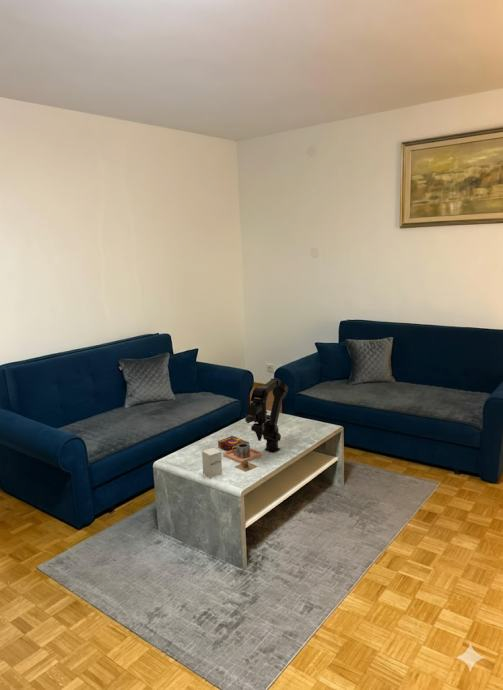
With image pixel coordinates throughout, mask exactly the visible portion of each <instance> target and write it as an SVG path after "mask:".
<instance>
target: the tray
mask: <svg viewBox="0 0 503 690" xmlns="http://www.w3.org/2000/svg"><path fill="white" fill-rule="evenodd" d="M222 453H223V454H222V455H223V457H224V458H226V459H229V460H231V461H233V462H236V463H238V464H243V463H244V461H245V460H247V461H248V462H251V461H253V460H255V459H257V458H260V457H262V456H263V451H262V452H261V451H259V450H257V449H254V448H252V447H250V456H249V457H248V458H244V459H243V458H238V457H237V456H234V453H233V450H230V451H225V452H222Z"/></svg>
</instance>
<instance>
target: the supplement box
mask: <svg viewBox="0 0 503 690" xmlns="http://www.w3.org/2000/svg"><path fill="white" fill-rule="evenodd" d="M201 457H202V459H201V460H202V473H203V475H204V476H206V477H208V479H212V478H213V477H216V476H219V475H222V473H223V467H222V466H223V464H222V451H221V450H219V449H217V448H215V447H211V448H207V449H205V450H202V451H201Z"/></svg>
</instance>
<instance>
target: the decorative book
mask: <svg viewBox="0 0 503 690" xmlns="http://www.w3.org/2000/svg"><path fill="white" fill-rule="evenodd" d="M240 443H248V444H249V445H250V442H249V441H247V440H243V439H242V438H240V437H236V436H234V435H230V436H227V437H226V438H222V439H220V440H217V444H218V445H217V446H218V448H220V449H221V450H223V451H225V452H228V451H230V450H233V453H234V449H236V445H237V444H240Z"/></svg>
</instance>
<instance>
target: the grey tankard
mask: <svg viewBox="0 0 503 690" xmlns="http://www.w3.org/2000/svg"><path fill="white" fill-rule="evenodd" d="M250 448H251V445H250V443H249V444H248V443H240V444H237V445H236V449H234V456H237V457H238V458H243V459H244V458H248V457H249V456H250Z"/></svg>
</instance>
